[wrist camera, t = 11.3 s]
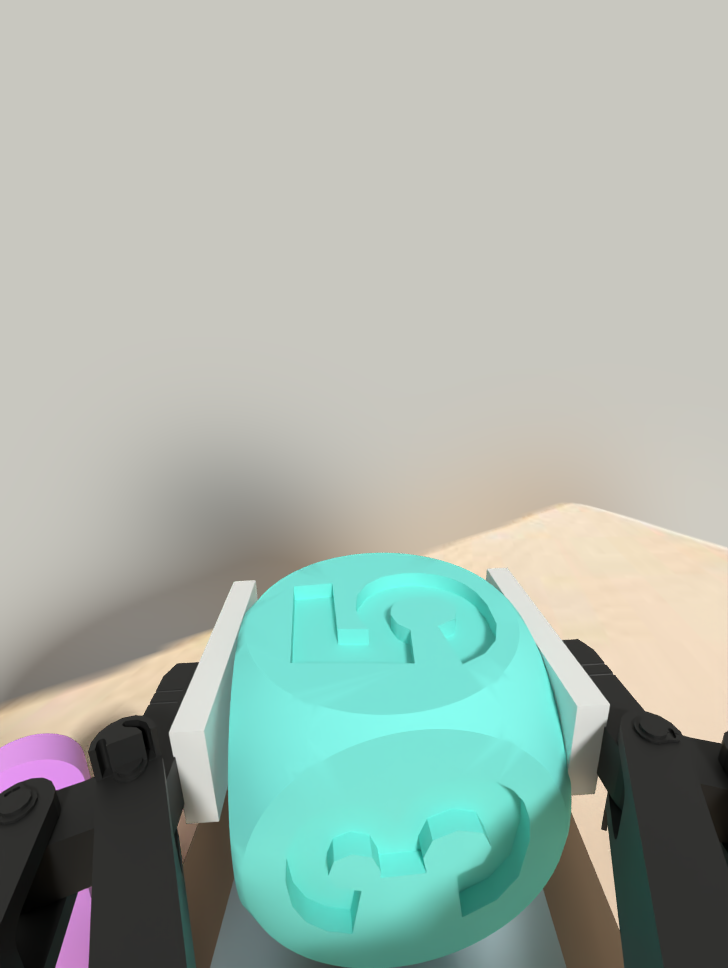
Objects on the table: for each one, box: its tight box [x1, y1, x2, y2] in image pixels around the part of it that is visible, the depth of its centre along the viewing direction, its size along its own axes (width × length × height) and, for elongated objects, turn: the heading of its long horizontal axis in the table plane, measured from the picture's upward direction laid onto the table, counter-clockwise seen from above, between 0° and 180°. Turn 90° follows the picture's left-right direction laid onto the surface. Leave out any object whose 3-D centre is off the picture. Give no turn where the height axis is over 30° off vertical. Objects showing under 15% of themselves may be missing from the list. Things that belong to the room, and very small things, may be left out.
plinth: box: [183, 787, 624, 968], centre depth 16 cm, size 14×16×4 cm
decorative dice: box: [228, 553, 571, 968], centre depth 14 cm, size 8×8×8 cm
